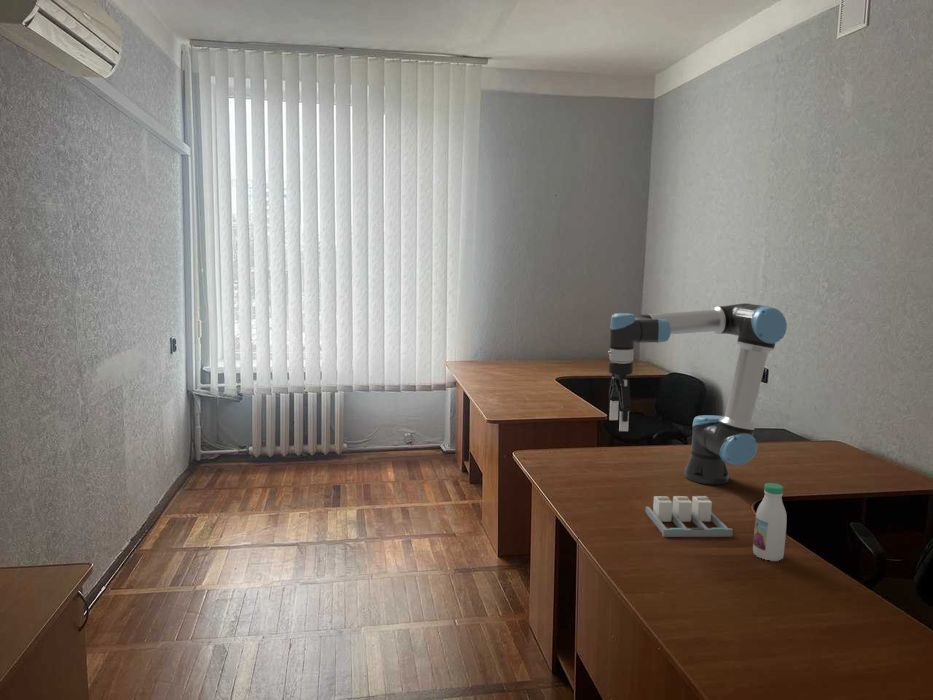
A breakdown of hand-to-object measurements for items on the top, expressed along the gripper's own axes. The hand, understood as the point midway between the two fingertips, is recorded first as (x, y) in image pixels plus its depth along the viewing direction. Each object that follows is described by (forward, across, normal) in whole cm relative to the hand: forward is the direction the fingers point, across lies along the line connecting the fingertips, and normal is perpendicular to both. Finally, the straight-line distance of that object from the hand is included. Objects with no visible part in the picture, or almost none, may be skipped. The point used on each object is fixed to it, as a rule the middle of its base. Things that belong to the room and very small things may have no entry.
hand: (618, 425), depth 219 cm
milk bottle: (+25, +42, +32) cm, 58 cm away
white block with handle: (+24, +20, +9) cm, 32 cm away
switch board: (+25, +24, +15) cm, 38 cm away
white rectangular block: (+24, +20, +21) cm, 38 cm away
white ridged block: (+24, +20, +15) cm, 35 cm away
